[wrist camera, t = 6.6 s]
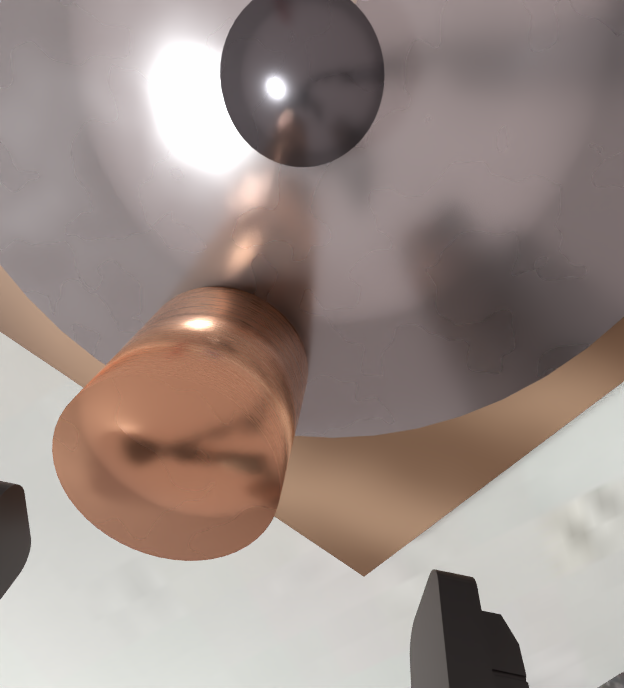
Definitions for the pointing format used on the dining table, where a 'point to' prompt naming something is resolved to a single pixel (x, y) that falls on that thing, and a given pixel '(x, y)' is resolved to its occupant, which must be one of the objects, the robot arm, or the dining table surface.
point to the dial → (300, 229)
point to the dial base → (381, 445)
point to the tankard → (615, 682)
